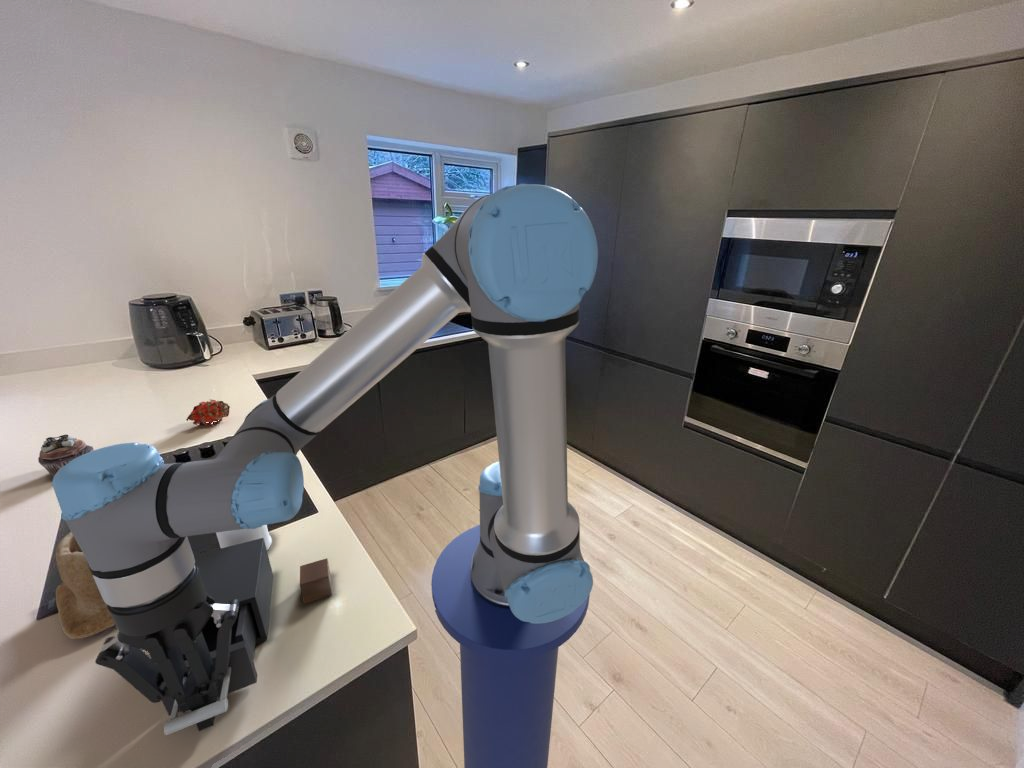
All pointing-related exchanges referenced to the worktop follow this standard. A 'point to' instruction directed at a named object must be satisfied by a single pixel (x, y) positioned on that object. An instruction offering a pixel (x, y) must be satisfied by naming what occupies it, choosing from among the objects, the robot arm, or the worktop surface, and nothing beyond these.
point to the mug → (244, 536)
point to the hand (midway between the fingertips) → (208, 717)
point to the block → (315, 580)
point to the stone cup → (79, 593)
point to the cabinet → (240, 578)
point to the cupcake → (61, 452)
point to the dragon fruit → (209, 412)
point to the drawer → (237, 673)
